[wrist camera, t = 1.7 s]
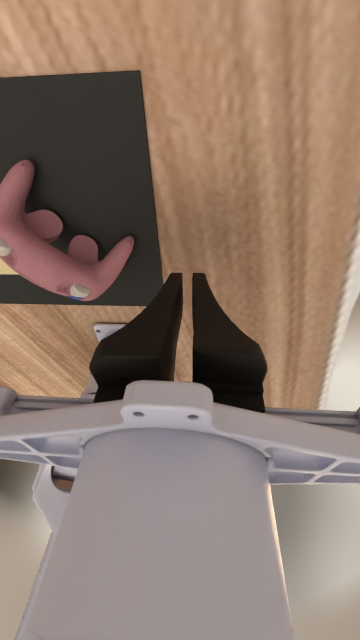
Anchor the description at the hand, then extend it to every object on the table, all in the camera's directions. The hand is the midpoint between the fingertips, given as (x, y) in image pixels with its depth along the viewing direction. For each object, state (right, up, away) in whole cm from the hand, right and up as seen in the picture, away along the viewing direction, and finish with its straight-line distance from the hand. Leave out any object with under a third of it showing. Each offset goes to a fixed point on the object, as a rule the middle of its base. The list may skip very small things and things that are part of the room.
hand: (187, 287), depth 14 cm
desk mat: (-15, +6, +7) cm, 18 cm away
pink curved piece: (-9, +6, +7) cm, 13 cm away
